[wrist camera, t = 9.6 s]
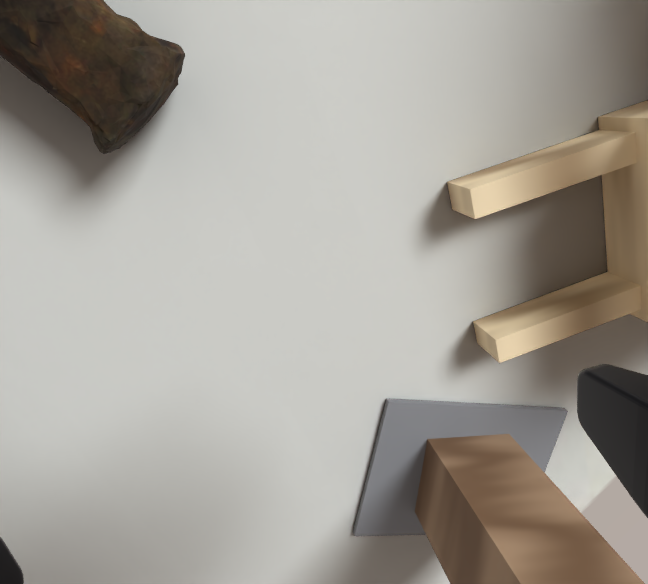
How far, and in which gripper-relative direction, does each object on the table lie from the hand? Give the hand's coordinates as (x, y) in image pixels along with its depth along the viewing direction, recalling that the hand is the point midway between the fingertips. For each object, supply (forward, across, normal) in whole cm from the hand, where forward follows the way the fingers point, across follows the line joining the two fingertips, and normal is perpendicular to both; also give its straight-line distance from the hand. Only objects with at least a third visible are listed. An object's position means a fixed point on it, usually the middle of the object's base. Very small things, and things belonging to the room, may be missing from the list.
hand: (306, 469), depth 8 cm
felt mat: (+13, -7, +15) cm, 21 cm away
